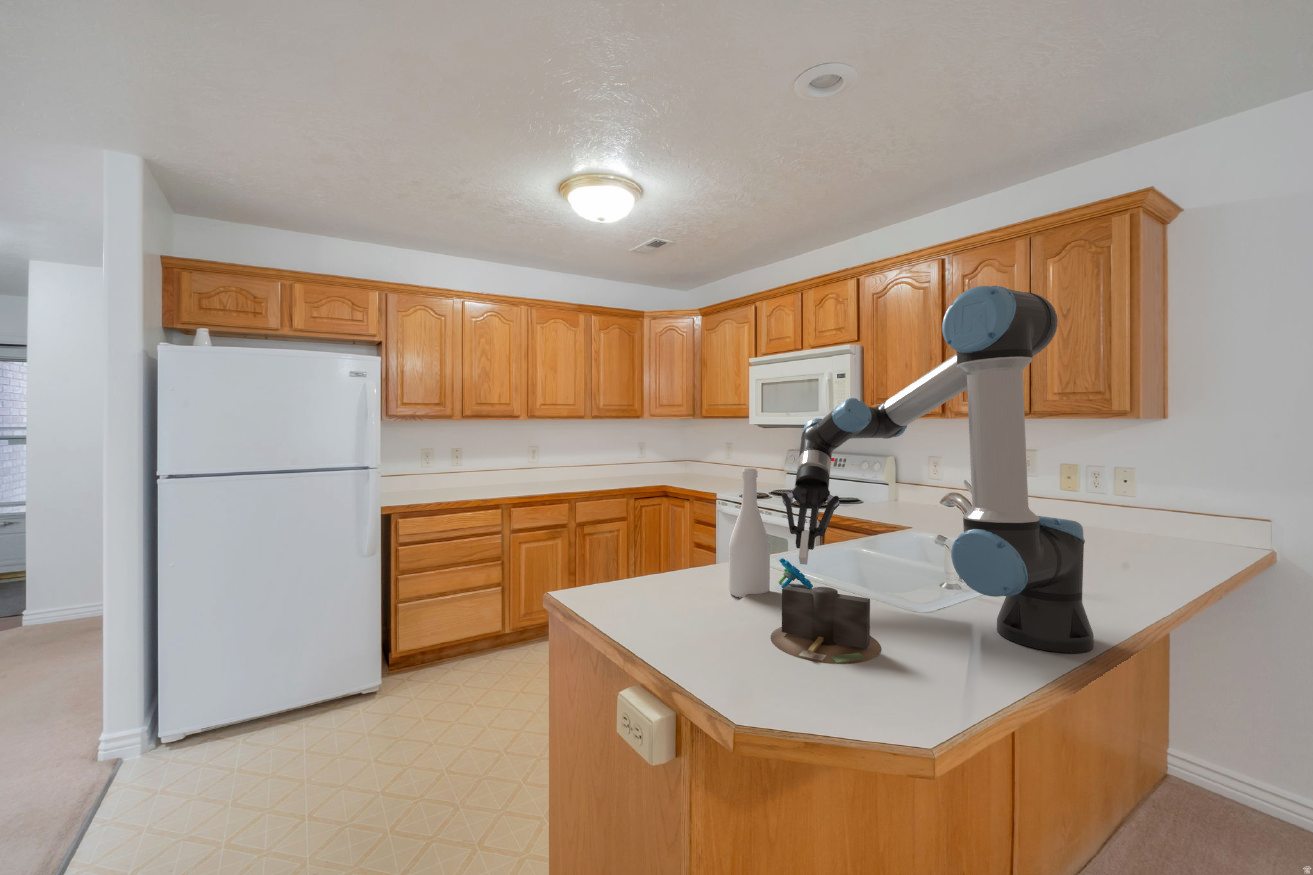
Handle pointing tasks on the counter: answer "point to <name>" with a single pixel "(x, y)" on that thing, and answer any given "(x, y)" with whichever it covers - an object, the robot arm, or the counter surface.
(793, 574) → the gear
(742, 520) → the wine bottle
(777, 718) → the counter surface
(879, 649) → the dial
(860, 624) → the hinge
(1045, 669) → the counter surface
